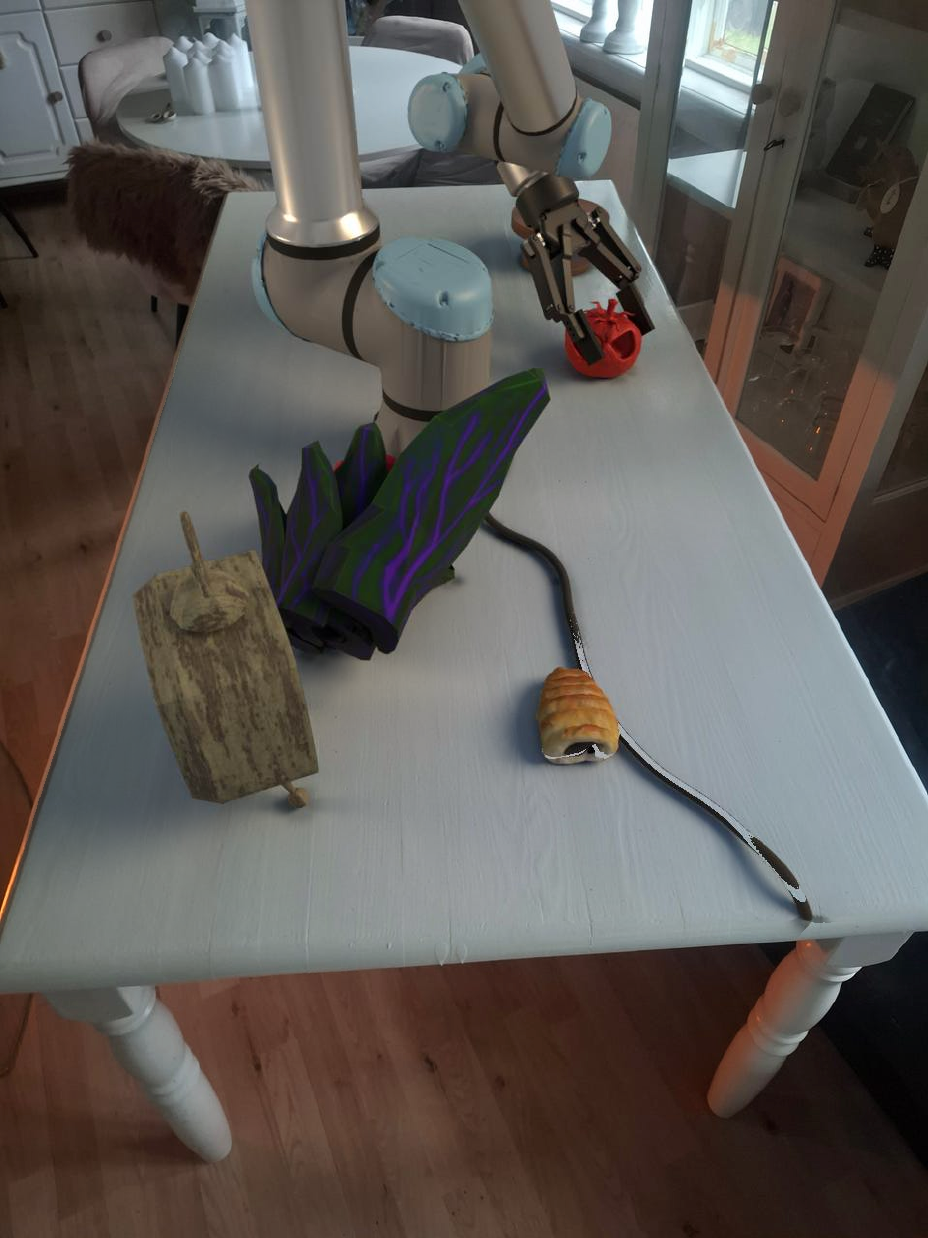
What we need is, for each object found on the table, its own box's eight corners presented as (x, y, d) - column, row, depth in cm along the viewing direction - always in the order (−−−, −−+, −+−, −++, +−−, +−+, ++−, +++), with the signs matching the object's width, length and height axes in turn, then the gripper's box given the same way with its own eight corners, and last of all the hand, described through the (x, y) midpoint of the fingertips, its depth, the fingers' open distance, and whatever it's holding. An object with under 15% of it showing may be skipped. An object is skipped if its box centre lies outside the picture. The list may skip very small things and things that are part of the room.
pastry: (527, 681, 77) (530, 653, 74) (601, 677, 77) (607, 649, 75) (542, 770, 71) (546, 742, 68) (623, 765, 71) (630, 737, 68)
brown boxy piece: (328, 816, 67) (283, 586, 49) (212, 856, 65) (120, 629, 47) (283, 683, 77) (231, 448, 58) (179, 713, 74) (92, 478, 56)
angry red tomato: (563, 344, 119) (570, 278, 112) (636, 350, 118) (647, 284, 111) (560, 382, 112) (567, 314, 105) (637, 388, 111) (649, 320, 104)
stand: (614, 280, 133) (621, 232, 127) (518, 285, 131) (521, 236, 126) (591, 239, 143) (596, 193, 138) (501, 244, 141) (504, 197, 136)
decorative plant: (287, 695, 87) (393, 469, 101) (507, 718, 73) (596, 451, 86) (141, 576, 73) (287, 331, 86) (379, 576, 58) (510, 281, 72)
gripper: (578, 177, 115) (654, 329, 119) (460, 223, 105) (548, 389, 108) (615, 144, 109) (693, 306, 113) (493, 190, 98) (585, 367, 102)
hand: (622, 347), depth 111 cm, fingers closed on angry red tomato, 9 cm apart
